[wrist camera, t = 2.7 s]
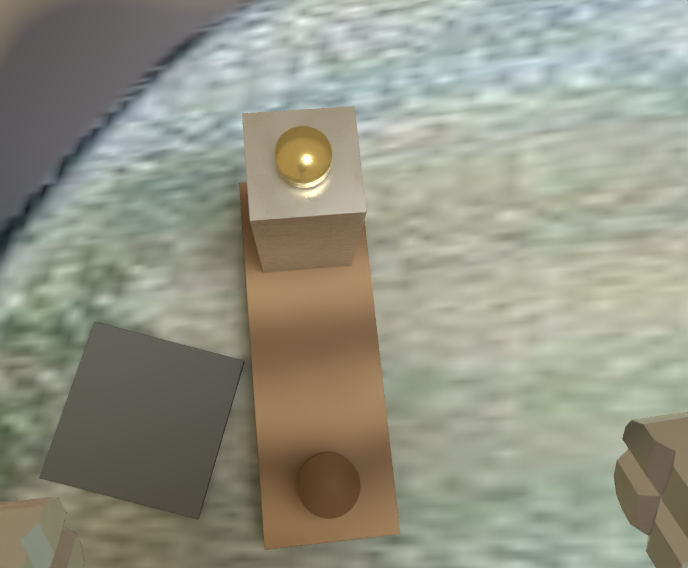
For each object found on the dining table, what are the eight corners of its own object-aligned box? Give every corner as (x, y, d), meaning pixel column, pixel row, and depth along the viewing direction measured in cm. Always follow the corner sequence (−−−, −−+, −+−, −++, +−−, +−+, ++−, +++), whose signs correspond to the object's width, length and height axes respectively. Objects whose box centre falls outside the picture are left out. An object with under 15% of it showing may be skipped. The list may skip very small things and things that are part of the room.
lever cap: (352, 265, 36) (368, 203, 26) (263, 272, 36) (247, 212, 26) (343, 183, 37) (356, 94, 28) (257, 189, 37) (239, 101, 27)
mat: (198, 518, 35) (197, 519, 35) (42, 477, 35) (39, 477, 35) (244, 361, 38) (243, 360, 37) (96, 323, 38) (94, 322, 37)
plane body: (392, 525, 36) (409, 543, 30) (268, 540, 35) (260, 561, 29) (355, 193, 40) (363, 152, 34) (244, 201, 40) (233, 161, 34)
